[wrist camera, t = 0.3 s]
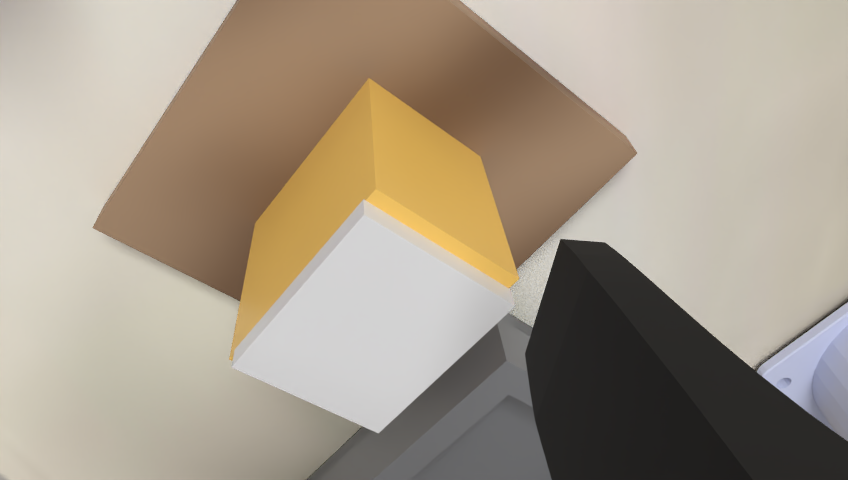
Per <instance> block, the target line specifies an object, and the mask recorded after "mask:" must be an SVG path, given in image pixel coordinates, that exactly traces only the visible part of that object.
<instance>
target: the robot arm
mask: <svg viewBox="0 0 848 480" xmlns="http://www.w3.org/2000/svg"><path fill="white" fill-rule="evenodd" d="M525 358H526V365H527V372H528V380H529V387H530V394H531V400H532V406H533V412H534V418H535V423H536V426H537V430H538V434H539V437H540V441H541V444H542V448H543V451H544V455H545V458H546V462H547V465H548V469H549V472H550V476H551V479H552V480H848V302H847V303H846V304H844V305H843V306H842V307H840V308H839V309H837V310H836V311H835V312H833V313H832V314H831V315H829V316H828V317H826V318H825V319H824V320H822V321H821V322H820V323H818V324H817V325H815V326H814V327H813V328H811V329H810V330H809V331H807V332H806V333H804V334H803V335H802V336H800V337H799V338H798V339H796V340H795V341H794V342H792V343H791V344H789V345H788V346H787V347H785V348H784V349H783V350H781V351H780V352H778V353H777V354H776V355H774V356H773V357H772V358H770V359H769V360H767V361H766V362H765V363H763V364H762V365H761V366H760V367H759V368H758V370H757V372H756V371H755V370H753V369H752V368H751V367H750V366H749V365H747V364H746V363H745V362H744V361H743V360H741V359H740V358H739V357H738V356H736V355H735V354H734V353H733V352H732V351H730V350H729V349H728V348H727V347H726V346H725V345H723V344H722V343H721V342H720V341H719V340H718V339H716V338H715V337H714V336H713V335H712V334H711V333H709V332H708V331H707V330H706V329H705V328H704V327H703V326H701V325H700V324H699V323H698V322H697V321H696V320H695V319H693V318H692V317H691V316H690V315H689V314H688V313H687V312H685V311H684V310H683V309H682V308H681V307H680V306H679V305H678V304H676V303H675V302H674V301H673V300H672V299H671V298H670V297H669V296H667V295H666V294H665V293H664V292H663V291H662V290H661V289H660V288H658V287H657V286H656V285H655V284H654V283H653V282H652V281H651V280H649V279H648V278H647V277H646V276H645V275H644V274H643V273H641V272H640V271H639V270H638V269H637V268H636V267H635V266H633V265H632V264H631V263H630V262H629V261H628V260H626V259H625V258H624V257H623V256H622V255H620V254H619V253H618V252H617V251H615V250H614V249H613V248H611V247H610V246H609V245H608V244H606V243H603V242H591V241H578V240H565V239H561V240H560V243H559V246H558V249H557V252H556V256H555V259H554V262H553V265H552V268H551V272H550V275H549V278H548V281H547V284H546V288H545V291H544V294H543V297H542V300H541V304H540V307H539V310H538V313H537V317H536V320H535V323H534V326H533V329H532V333H531V336H530V339H529V342H528V345H527V349H526V352H525Z"/></svg>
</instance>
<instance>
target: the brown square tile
mask: <svg viewBox="0 0 848 480" xmlns="http://www.w3.org/2000/svg"><path fill="white" fill-rule="evenodd" d="M368 78H370V79H371V80H373V81H374V82H375V83H377V84H378V85H380V86H381V87H383V88H384V89H385V90H387V91H388V92H390V93H391V94H393V95H394V96H395V97H397V98H398V99H400V100H401V101H402V102H404V103H405V104H407V105H408V106H410V107H411V108H412V109H414V110H415V111H417V112H418V113H419V114H421V115H422V116H424V117H425V118H427V119H428V120H429V121H431V122H432V123H434V124H435V125H436V126H438V127H439V128H441V129H442V130H444V131H445V132H446V133H448V134H449V135H451V136H452V137H453V138H455V139H456V140H458V141H459V142H461V143H462V144H463V145H465V146H466V147H468V148H469V149H470V150H472V151H473V152H475V153H476V154H478V155H479V156H480V157H481V160H482V163H483V166H484V169H485V172H486V176H487V179H488V182H489V185H490V188H491V191H492V194H493V198H494V201H495V204H496V207H497V210H498V213H499V216H500V220H501V223H502V226H503V229H504V232H505V235H506V239H507V242H508V245H509V248H510V251H511V254H512V257H513V261H514V264H515V267H516V269H517V268H518V267H519V266H520V265H521V264H522V263H523V262H524V261H525V260H527V259H528V258H529V257H530V256H531V255H532V254H533V253H534V252H535V251H536V250H537V249H538V248H539V247H540V246H541V245H542V244H543V243H544V242H545V241H546V240H547V239H548V238H550V237H551V236H552V235H553V234H554V233H555V232H556V231H557V230H558V229H559V228H560V227H561V226H562V225H563V224H564V223H565V222H566V221H567V220H568V219H569V218H570V217H571V216H572V215H574V214H575V213H576V212H577V211H578V210H579V209H580V208H581V207H582V206H583V205H584V204H585V203H586V202H587V201H588V200H589V199H590V198H591V197H592V196H593V195H594V194H595V193H596V192H598V191H599V190H600V189H601V188H602V187H603V186H604V185H605V184H606V183H607V182H608V181H609V180H610V179H611V178H612V177H613V176H614V175H615V174H616V173H617V172H618V171H619V170H620V169H622V168H623V167H624V166H625V165H626V164H627V163H628V162H629V161H630V160H631V159H632V158H633V157H634V156H635V155H636V154H637V152H636V150H635V149H634V148H633V146H632V145H631V143H630V142H629V140H628V139H627V138H626V136H625V135H624V134H623V133H621V132H620V131H619V130H618V129H616V128H615V127H614V126H613V125H612V124H610V123H609V122H608V121H607V120H605V119H604V118H603V117H602V116H601V115H599V114H598V113H597V112H596V111H594V110H593V109H592V108H591V107H590V106H588V105H587V104H586V103H585V102H583V101H582V100H581V99H580V98H578V97H577V96H576V95H575V94H574V93H572V92H571V91H570V90H569V89H567V88H566V87H565V86H564V85H563V84H561V83H560V82H559V81H558V80H556V79H555V78H554V77H553V76H552V75H550V74H549V73H548V72H547V71H545V70H544V69H543V68H542V67H540V66H539V65H538V64H537V63H536V62H534V61H533V60H532V59H531V58H529V57H528V56H527V55H526V54H525V53H523V52H522V51H521V50H520V49H518V48H517V47H516V46H515V45H514V44H512V43H511V42H510V41H509V40H507V39H506V38H505V37H504V36H502V35H501V34H500V33H499V32H498V31H496V30H495V29H494V28H493V27H491V26H490V25H489V24H488V23H487V22H485V21H484V20H483V19H482V18H480V17H479V16H478V15H477V14H476V13H474V12H473V11H472V10H471V9H469V8H468V7H467V6H466V5H464V4H463V3H462V2H461V1H460V0H237V1H236V3H235V4H234V6H233V7H232V9H231V11H230V12H229V14H228V15H227V17H226V18H225V20H224V21H223V23H222V24H221V26H220V28H219V29H218V31H217V32H216V34H215V35H214V37H213V38H212V40H211V41H210V43H209V45H208V46H207V48H206V49H205V51H204V52H203V54H202V55H201V57H200V58H199V60H198V62H197V63H196V65H195V66H194V68H193V69H192V71H191V72H190V74H189V75H188V77H187V79H186V80H185V82H184V83H183V85H182V86H181V88H180V89H179V91H178V92H177V94H176V96H175V97H174V99H173V100H172V102H171V103H170V105H169V106H168V108H167V109H166V111H165V113H164V114H163V116H162V117H161V119H160V120H159V122H158V123H157V125H156V126H155V128H154V130H153V131H152V133H151V134H150V136H149V137H148V139H147V140H146V142H145V143H144V145H143V147H142V148H141V150H140V151H139V153H138V154H137V156H136V157H135V159H134V160H133V162H132V164H131V165H130V167H129V168H128V170H127V171H126V173H125V174H124V176H123V177H122V179H121V181H120V182H119V184H118V185H117V187H116V188H115V190H114V191H113V193H112V194H111V196H110V198H109V199H108V201H107V202H106V204H105V205H104V207H103V209H102V211H101V213H100V214H99V216H98V218H97V220H96V222H95V224H94V226H93V228H94V229H96V230H98V231H100V232H102V233H104V234H106V235H108V236H110V237H112V238H114V239H116V240H118V241H120V242H122V243H124V244H126V245H128V246H130V247H132V248H134V249H136V250H138V251H140V252H142V253H144V254H146V255H148V256H150V257H152V258H154V259H156V260H158V261H160V262H162V263H164V264H166V265H168V266H171V267H173V268H175V269H177V270H179V271H181V272H183V273H185V274H187V275H189V276H191V277H193V278H195V279H197V280H199V281H201V282H203V283H205V284H207V285H209V286H211V287H213V288H215V289H217V290H219V291H221V292H223V293H225V294H227V295H229V296H231V297H233V298H235V299H237V300H239V301H240V300H241V295H242V289H243V284H244V279H245V274H246V268H247V263H248V258H249V253H250V247H251V242H252V237H253V232H254V226H255V223H256V221H257V220H258V219H259V218H260V216H261V215H262V214H263V212H264V211H265V210H266V209H267V207H268V206H269V205H270V204H271V202H272V201H273V200H274V198H275V197H276V196H277V195H278V193H279V192H280V191H281V190H282V188H283V187H284V186H285V184H286V183H287V182H288V181H289V179H290V178H291V177H292V175H293V174H294V173H295V172H296V170H297V169H298V168H299V167H300V165H301V164H302V163H303V161H304V160H305V159H306V158H307V156H308V155H309V154H310V153H311V151H312V150H313V149H314V147H315V146H316V145H317V144H318V142H319V141H320V140H321V138H322V137H323V136H324V135H325V133H326V132H327V131H328V130H329V128H330V127H331V126H332V124H333V123H334V122H335V121H336V119H337V118H338V117H339V116H340V114H341V113H342V112H343V110H344V109H345V108H346V107H347V105H348V104H349V103H350V101H351V100H352V99H353V98H354V96H355V95H356V94H357V93H358V91H359V90H360V89H361V87H362V86H363V85H364V84H365V82H366V81H367V80H368Z"/></svg>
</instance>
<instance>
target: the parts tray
mask: <svg viewBox="0 0 848 480" xmlns="http://www.w3.org/2000/svg"><path fill="white" fill-rule="evenodd" d="M532 329H533V328H532V327H531V326H529V325H527V324H525V323H524V322H522V321H520V320H519V319H517V318H515V317H514V316H512V315H510V314H509V313H508V314H507V315H506V316H504V317H503V318H502V319H501V320H500V321H499V322H498V323H497V324H496V325H495V326H494V327H493V328H491V329H490V330H489V331H488V332H487V333H486V334H485V335H484V336H483V337H482V338H481V339H480V340H479V341H477V342H476V343H475V344H474V345H473V346H472V347H471V348H470V349H469V350H468V351H467V352H466V353H465V354H463V355H462V356H461V357H460V358H459V359H458V360H457V361H456V362H455V363H454V364H453V365H452V366H451V367H449V368H448V369H447V370H446V371H445V372H444V373H443V374H442V375H441V376H440V377H439V378H438V379H437V380H435V381H434V382H433V383H432V384H431V385H430V386H429V387H428V388H427V389H426V390H425V391H424V392H423V393H421V394H420V395H419V396H418V397H417V398H416V399H415V400H414V401H413V402H412V403H411V404H410V405H409V406H407V407H406V408H405V409H404V410H403V411H402V412H401V413H400V414H399V415H398V416H397V417H396V418H394V419H393V420H392V421H391V422H390V423H389V424H388V425H387V426H386V427H385V428H384V429H383V430H382V431H380V432H379V433H376V432H374V431H372V430H370V429H367V428H365V427H362V428H361V429H360V430H359V431H357V432H356V433H355V434H354V435H353V436H352V437H351V438H350V439H349V440H348V441H347V442H346V443H345V444H344V445H343V446H342V447H341V448H340V449H338V450H337V451H336V452H335V453H334V454H333V455H332V456H331V457H330V458H329V459H328V460H327V461H326V462H325V463H324V464H323V465H322V466H321V467H320V468H318V469H317V470H316V471H315V472H314V473H313V474H312V475H311V476H310V477H309V478H308V479H307V480H552V479H551V476H550V472H549V469H548V465H547V462H546V458H545V455H544V451H543V448H542V444H541V441H540V437H539V434H538V430H537V426H536V423H535V418H534V412H533V406H532V400H531V394H530V387H529V380H528V372H527V365H526V358H525V352H526V349H527V345H528V342H529V339H530V336H531V333H532Z"/></svg>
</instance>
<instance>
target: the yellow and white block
mask: <svg viewBox="0 0 848 480" xmlns="http://www.w3.org/2000/svg"><path fill="white" fill-rule="evenodd" d="M518 279H519V276H518V273H517V270H516V267H515V264H514V261H513V257H512V254H511V251H510V248H509V245H508V242H507V239H506V235H505V232H504V229H503V226H502V223H501V220H500V216H499V213H498V210H497V207H496V204H495V201H494V198H493V194H492V191H491V188H490V185H489V182H488V179H487V176H486V172H485V169H484V166H483V163H482V160H481V157H480V156H479V155H478V154H476V153H475V152H473V151H472V150H470V149H469V148H468V147H466V146H465V145H463V144H462V143H461V142H459V141H458V140H456V139H455V138H453V137H452V136H451V135H449V134H448V133H446V132H445V131H444V130H442V129H441V128H439V127H438V126H436V125H435V124H434V123H432V122H431V121H429V120H428V119H427V118H425V117H424V116H422V115H421V114H419V113H418V112H417V111H415V110H414V109H412V108H411V107H410V106H408V105H407V104H405V103H404V102H402V101H401V100H400V99H398V98H397V97H395V96H394V95H393V94H391V93H390V92H388V91H387V90H385V89H384V88H383V87H381V86H380V85H378V84H377V83H375V82H374V81H373V80H371V79H370V78H368V80H367V81H366V82H365V84H364V85H363V86H362V87H361V89H360V90H359V91H358V93H357V94H356V95H355V96H354V98H353V99H352V100H351V101H350V103H349V104H348V105H347V107H346V108H345V109H344V110H343V112H342V113H341V114H340V116H339V117H338V118H337V119H336V121H335V122H334V123H333V124H332V126H331V127H330V128H329V130H328V131H327V132H326V133H325V135H324V136H323V137H322V138H321V140H320V141H319V142H318V144H317V145H316V146H315V147H314V149H313V150H312V151H311V153H310V154H309V155H308V156H307V158H306V159H305V160H304V161H303V163H302V164H301V165H300V167H299V168H298V169H297V170H296V172H295V173H294V174H293V175H292V177H291V178H290V179H289V181H288V182H287V183H286V184H285V186H284V187H283V188H282V190H281V191H280V192H279V193H278V195H277V196H276V197H275V198H274V200H273V201H272V202H271V204H270V205H269V206H268V207H267V209H266V210H265V211H264V212H263V214H262V215H261V216H260V218H259V219H258V220H257V221H256V223H255V226H254V232H253V237H252V242H251V247H250V253H249V258H248V263H247V268H246V274H245V279H244V284H243V289H242V295H241V300H240V305H239V310H238V316H237V321H236V326H235V331H234V337H233V342H232V347H231V353H230V358H229V360H232V368H234V369H236V370H238V371H240V372H243V373H245V374H247V375H249V376H252V377H254V378H256V379H258V380H261V381H263V382H265V383H267V384H269V385H272V386H274V387H276V388H278V389H281V390H283V391H285V392H287V393H289V394H292V395H294V396H296V397H298V398H301V399H303V400H305V401H307V402H310V403H312V404H314V405H316V406H318V407H321V408H323V409H325V410H327V411H330V412H332V413H334V414H336V415H338V416H341V417H343V418H345V419H347V420H350V421H352V422H354V423H356V424H359V425H361V426H363V427H365V428H367V429H370V430H372V431H374V432H376V433H379V432H380V431H382V430H383V429H384V428H385V427H386V426H387V425H388V424H389V423H390V422H391V421H392V420H393V419H394V418H396V417H397V416H398V415H399V414H400V413H401V412H402V411H403V410H404V409H405V408H406V407H407V406H409V405H410V404H411V403H412V402H413V401H414V400H415V399H416V398H417V397H418V396H419V395H420V394H421V393H423V392H424V391H425V390H426V389H427V388H428V387H429V386H430V385H431V384H432V383H433V382H434V381H435V380H437V379H438V378H439V377H440V376H441V375H442V374H443V373H444V372H445V371H446V370H447V369H448V368H449V367H451V366H452V365H453V364H454V363H455V362H456V361H457V360H458V359H459V358H460V357H461V356H462V355H463V354H465V353H466V352H467V351H468V350H469V349H470V348H471V347H472V346H473V345H474V344H475V343H476V342H477V341H479V340H480V339H481V338H482V337H483V336H484V335H485V334H486V333H487V332H488V331H489V330H490V329H491V328H493V327H494V326H495V325H496V324H497V323H498V322H499V321H500V320H501V319H502V318H503V317H504V316H506V315H507V314H508V313H509V312H510V311H511V310H512V309H513V308H514V307H515V302H514V299H513V295H512V292H511V289H509V288H510V287H511V286H512V285H513V284H514V283H515V282H516V281H517V280H518Z"/></svg>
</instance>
